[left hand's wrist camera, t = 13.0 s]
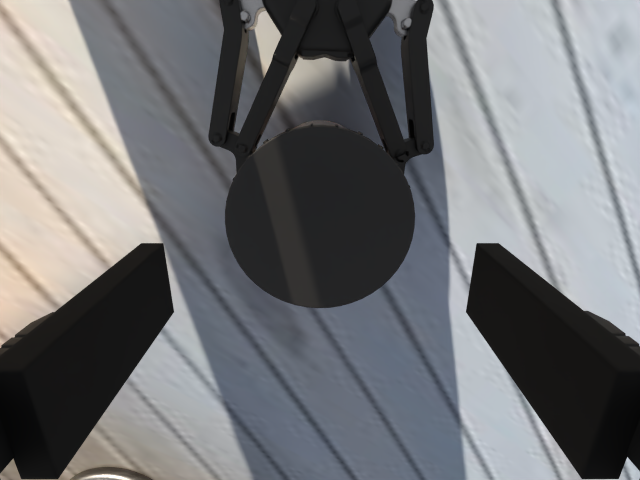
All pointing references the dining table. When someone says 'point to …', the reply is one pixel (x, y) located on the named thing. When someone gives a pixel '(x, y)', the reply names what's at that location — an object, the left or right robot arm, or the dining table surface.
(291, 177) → the lid
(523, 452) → the dining table surface
